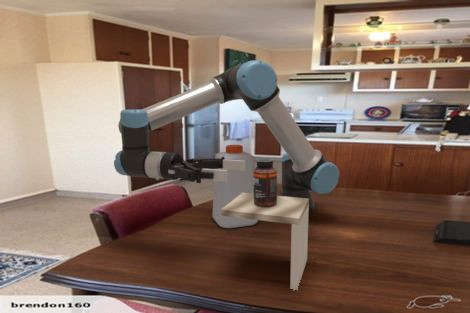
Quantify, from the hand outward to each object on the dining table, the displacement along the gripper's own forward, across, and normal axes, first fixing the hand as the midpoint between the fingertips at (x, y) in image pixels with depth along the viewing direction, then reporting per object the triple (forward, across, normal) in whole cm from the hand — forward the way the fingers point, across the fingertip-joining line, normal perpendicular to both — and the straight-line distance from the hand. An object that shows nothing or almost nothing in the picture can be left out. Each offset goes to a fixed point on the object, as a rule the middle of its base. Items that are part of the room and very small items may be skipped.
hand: (236, 170), depth 84 cm
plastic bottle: (-12, -30, -26) cm, 41 cm away
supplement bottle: (+8, 0, -8) cm, 11 cm away
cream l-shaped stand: (+8, 0, -26) cm, 27 cm away
